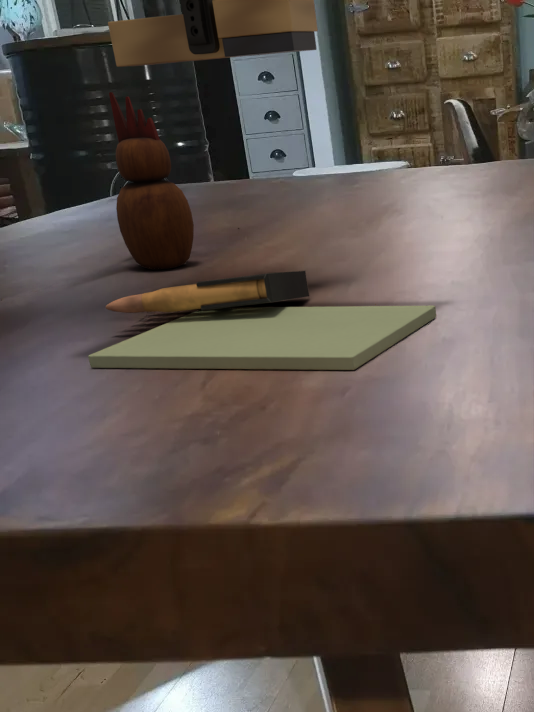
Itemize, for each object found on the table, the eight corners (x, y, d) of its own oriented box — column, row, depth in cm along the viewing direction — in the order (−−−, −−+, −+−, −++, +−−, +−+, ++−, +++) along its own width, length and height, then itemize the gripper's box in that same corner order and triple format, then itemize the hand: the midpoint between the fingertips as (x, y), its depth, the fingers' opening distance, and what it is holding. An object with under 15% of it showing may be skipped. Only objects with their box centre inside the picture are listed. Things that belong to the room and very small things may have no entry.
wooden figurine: (117, 271, 104) (78, 94, 97) (164, 260, 108) (130, 90, 101) (164, 273, 101) (127, 90, 94) (211, 262, 105) (179, 86, 98)
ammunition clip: (267, 273, 73) (97, 293, 75) (272, 302, 74) (103, 322, 75) (305, 270, 83) (154, 288, 85) (309, 296, 84) (159, 313, 85)
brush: (109, 67, 83) (98, 12, 81) (141, 65, 87) (131, 13, 85) (295, 50, 79) (287, -8, 77) (320, 49, 82) (313, -7, 81)
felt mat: (90, 368, 69) (87, 355, 68) (205, 318, 80) (203, 307, 80) (354, 370, 63) (352, 356, 63) (436, 317, 75) (435, 305, 74)
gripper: (161, -269, 67) (214, 50, 76) (265, -225, 79) (301, 48, 87) (58, -250, 70) (120, 59, 78) (174, -210, 81) (217, 55, 89)
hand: (216, 52), depth 82 cm, fingers closed on brush, 2 cm apart
